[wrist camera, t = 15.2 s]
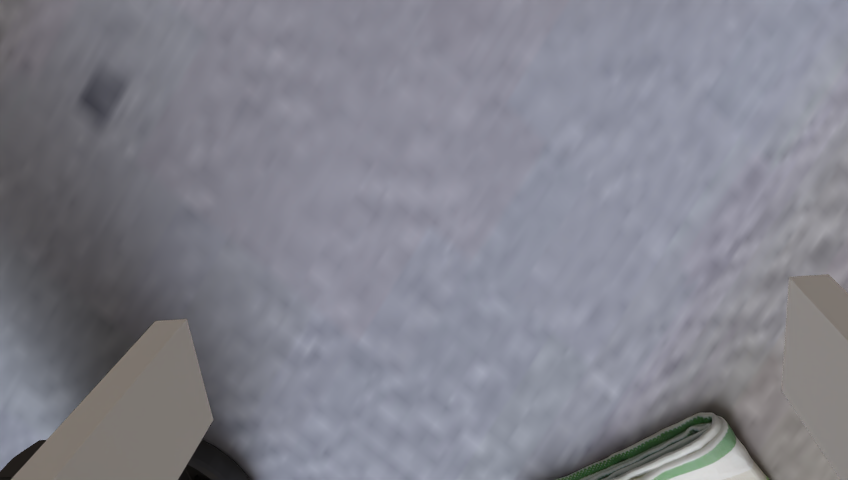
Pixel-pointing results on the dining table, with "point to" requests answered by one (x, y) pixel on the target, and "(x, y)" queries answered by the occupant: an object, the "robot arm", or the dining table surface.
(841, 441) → the robot arm
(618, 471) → the dish towel
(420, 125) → the dining table surface
